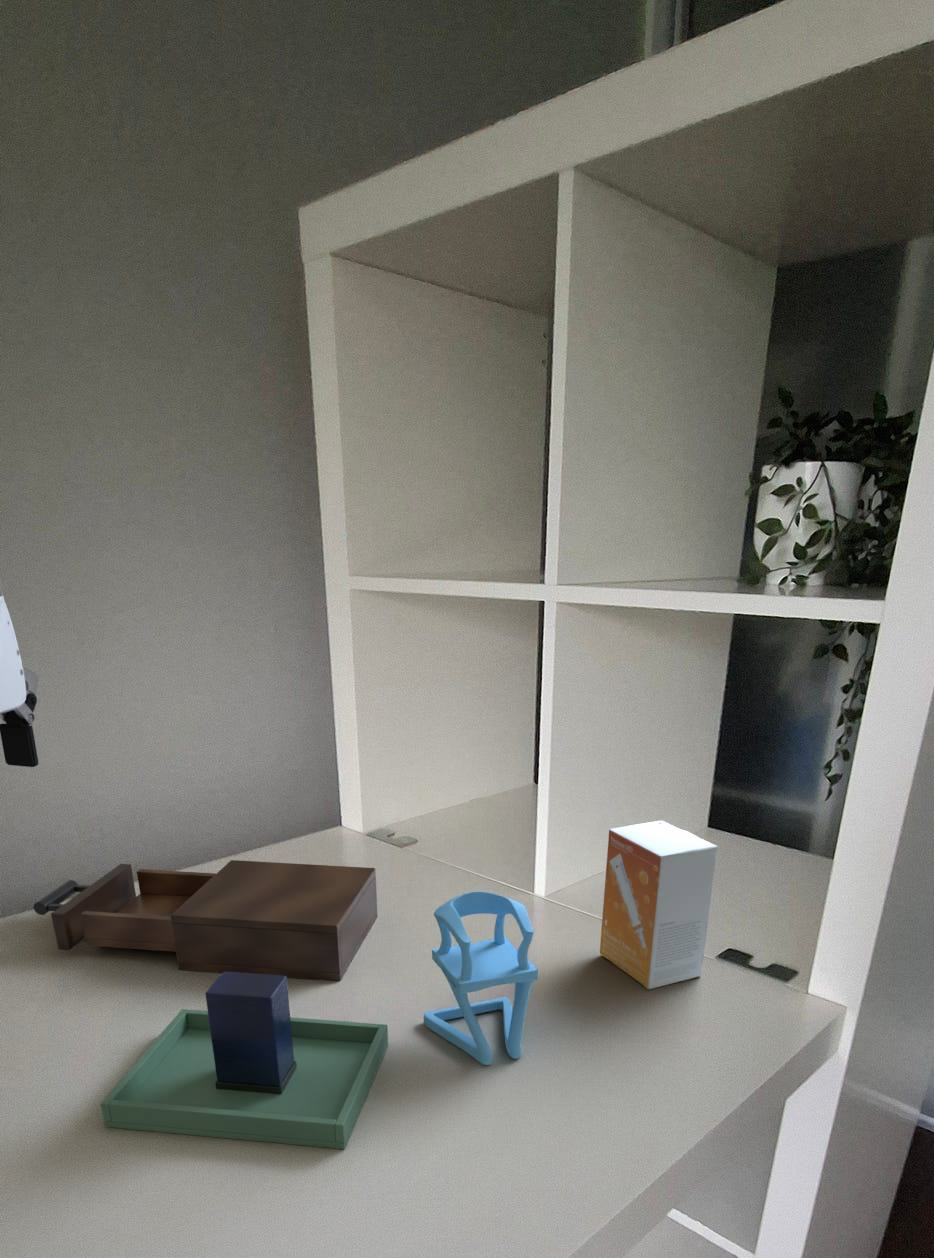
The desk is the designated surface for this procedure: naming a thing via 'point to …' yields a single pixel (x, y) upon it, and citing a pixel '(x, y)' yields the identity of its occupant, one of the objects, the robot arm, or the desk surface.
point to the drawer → (139, 917)
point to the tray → (302, 1115)
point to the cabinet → (277, 920)
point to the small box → (657, 902)
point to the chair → (482, 972)
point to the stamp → (251, 1032)
